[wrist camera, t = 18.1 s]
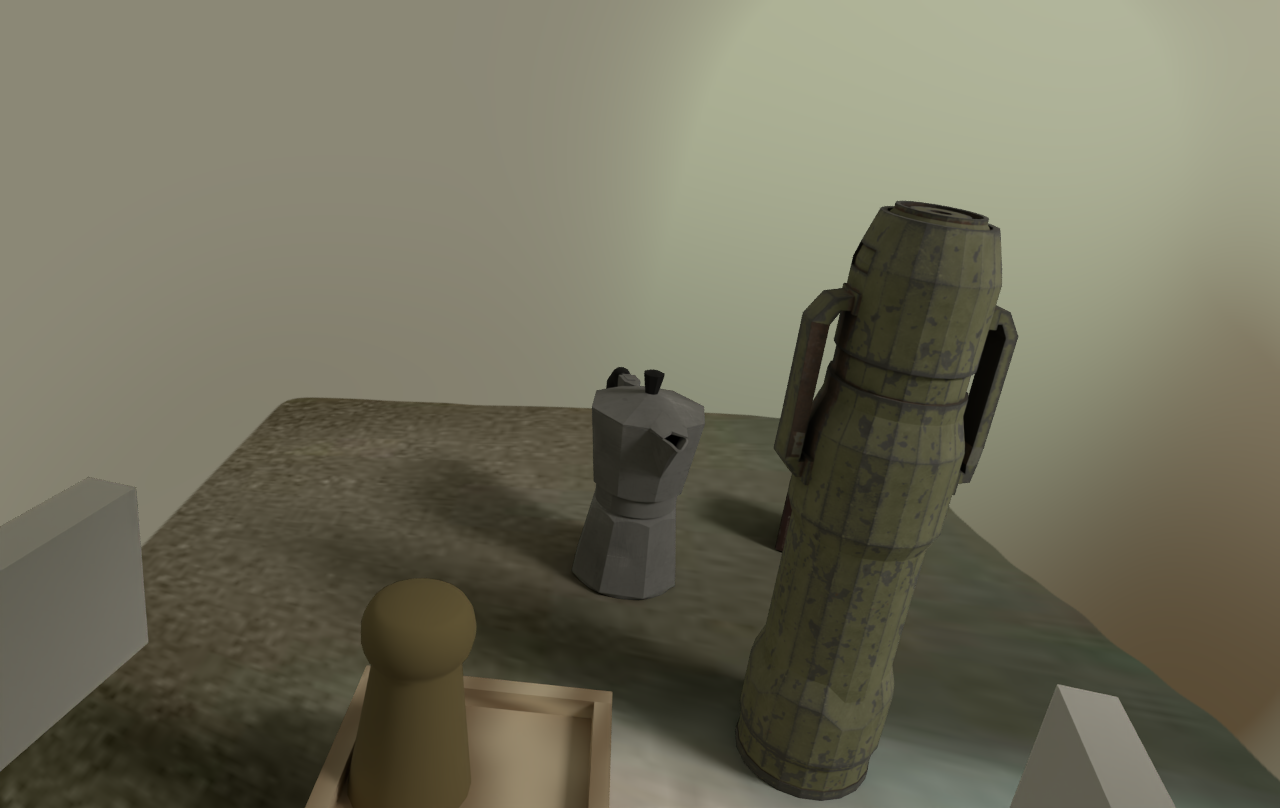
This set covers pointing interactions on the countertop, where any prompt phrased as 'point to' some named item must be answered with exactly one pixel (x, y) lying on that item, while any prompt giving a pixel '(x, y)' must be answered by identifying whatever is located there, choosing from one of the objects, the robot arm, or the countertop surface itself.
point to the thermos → (871, 484)
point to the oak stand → (508, 747)
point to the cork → (414, 699)
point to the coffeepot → (636, 485)
